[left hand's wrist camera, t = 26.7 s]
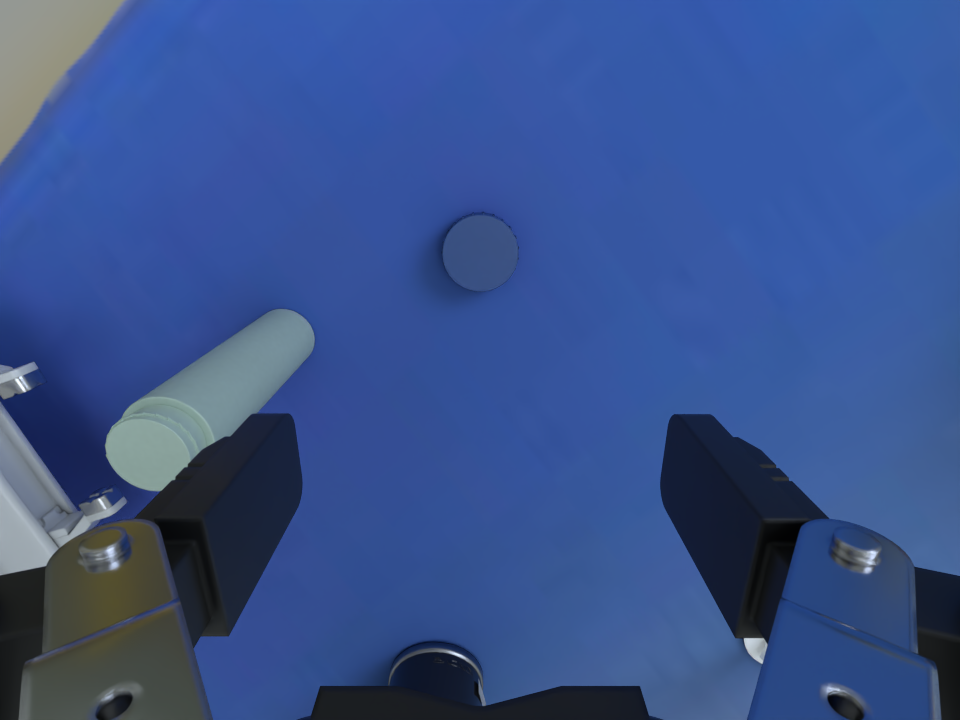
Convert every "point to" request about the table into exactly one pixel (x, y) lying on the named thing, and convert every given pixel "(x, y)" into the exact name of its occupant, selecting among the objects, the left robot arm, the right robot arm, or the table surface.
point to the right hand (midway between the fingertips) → (76, 439)
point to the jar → (207, 399)
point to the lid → (480, 252)
